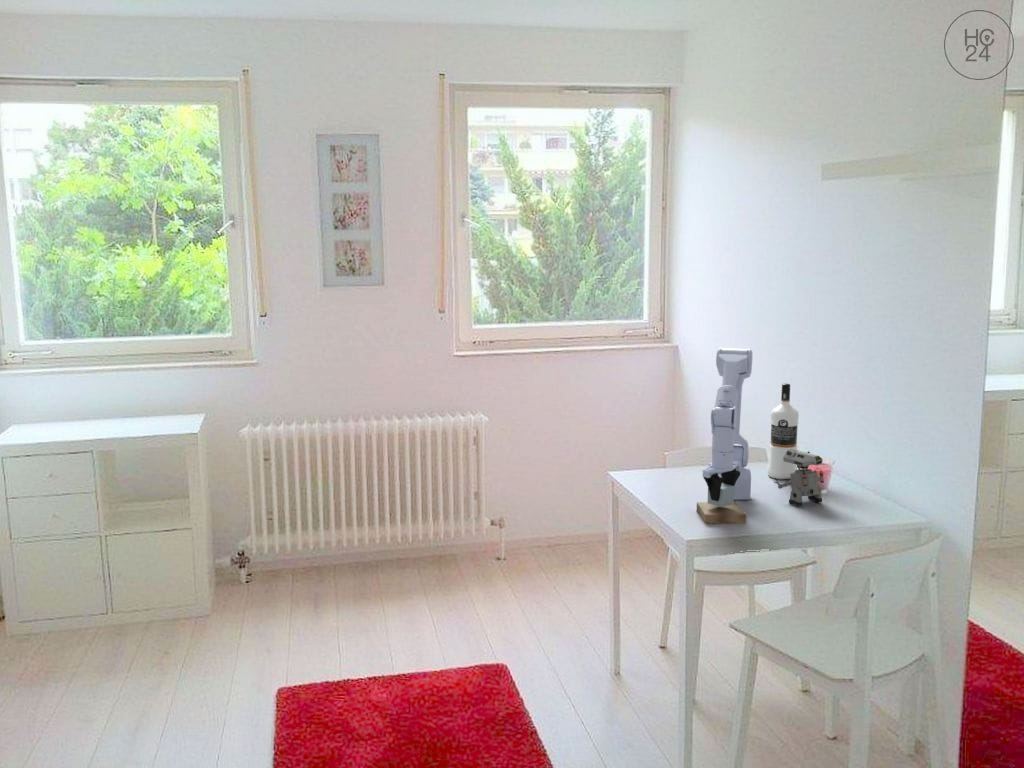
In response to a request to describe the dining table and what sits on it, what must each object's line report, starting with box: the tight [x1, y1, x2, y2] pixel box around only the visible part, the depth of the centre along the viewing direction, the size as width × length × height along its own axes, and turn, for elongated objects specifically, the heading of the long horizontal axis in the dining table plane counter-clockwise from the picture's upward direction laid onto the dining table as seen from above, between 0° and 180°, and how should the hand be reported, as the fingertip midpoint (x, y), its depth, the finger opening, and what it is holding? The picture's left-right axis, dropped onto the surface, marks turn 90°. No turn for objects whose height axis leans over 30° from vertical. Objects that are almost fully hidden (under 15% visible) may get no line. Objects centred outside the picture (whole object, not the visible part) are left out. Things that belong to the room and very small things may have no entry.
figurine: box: [774, 449, 825, 508], centre depth 266 cm, size 9×12×15 cm
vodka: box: [766, 383, 800, 480], centre depth 291 cm, size 9×9×30 cm
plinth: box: [696, 501, 747, 525], centre depth 254 cm, size 11×11×2 cm
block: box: [707, 483, 735, 507], centre depth 253 cm, size 5×5×5 cm
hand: (721, 498), depth 253 cm, fingers closed on block, 5 cm apart
